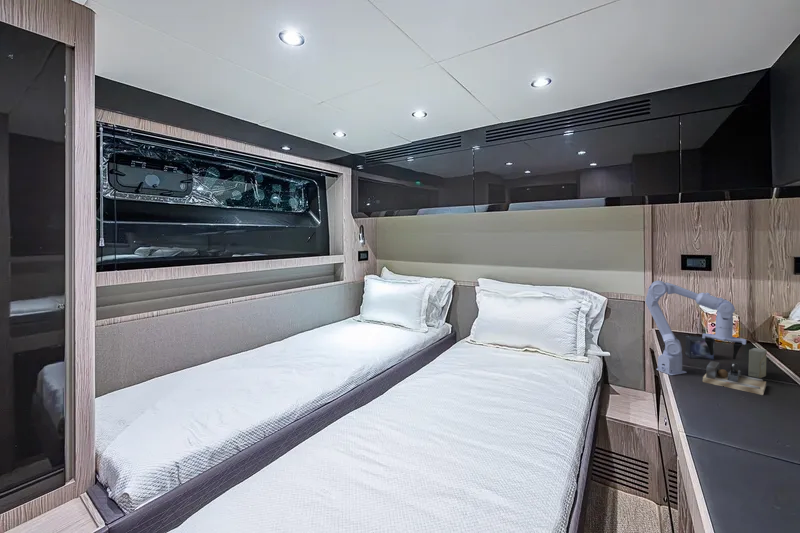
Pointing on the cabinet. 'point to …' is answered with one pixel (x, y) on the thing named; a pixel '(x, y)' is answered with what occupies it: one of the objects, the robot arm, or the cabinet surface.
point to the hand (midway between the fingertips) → (722, 356)
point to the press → (721, 379)
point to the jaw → (734, 372)
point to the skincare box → (757, 362)
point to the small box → (698, 348)
